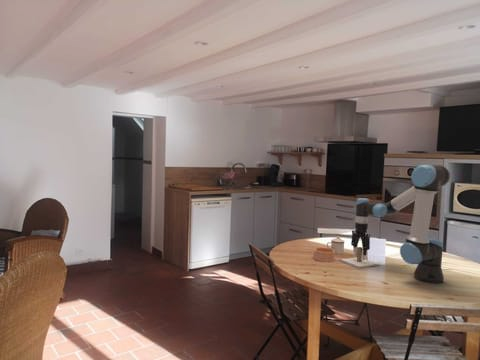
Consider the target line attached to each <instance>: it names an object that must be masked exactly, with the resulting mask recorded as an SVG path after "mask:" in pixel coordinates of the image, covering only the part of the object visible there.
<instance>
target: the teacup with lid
mask: <svg viewBox="0 0 480 360" xmlns="http://www.w3.org/2000/svg"><path fill="white" fill-rule="evenodd" d="M329 244H330V247H329ZM326 248H329V249H333V250H334V251H335V255H343V254H344V250H345V240H343V239H342V238H340V236H336V237H335V238H332V239H331V241H328V242H327V243H326Z"/></svg>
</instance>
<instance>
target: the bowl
mask: <svg viewBox="0 0 480 360" xmlns="http://www.w3.org/2000/svg"><path fill="white" fill-rule="evenodd" d="M329 248H330V247H329ZM329 248H327V247H316V248H314V249H313V259H314V261H316V262H323V263H331V262H335V259H336V257H335V256H336V254H335V251H334V250H333V249H329Z"/></svg>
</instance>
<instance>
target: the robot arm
mask: <svg viewBox="0 0 480 360" xmlns="http://www.w3.org/2000/svg"><path fill="white" fill-rule="evenodd" d="M410 177H411V181H412V183H413V186H411V187H410V188H408V189H407V190H405V191H404V192H401V194H398V195H397V196H395V197H394V198H393V199H391V200H390V201H388V202H383V203H382V202H381V203H380V202H379V203H376V202H375V203H374V202H370V198H364V197H359V198H357V199H356V204H355V205H356V206H355V223H354V226H355V227H354V228H355V229H353V230H351V233H352V234H351V241H350V246H353V247H352V248H353V258H357V250H358V247H359V242H360V240H361V245H362V248H363V249H362V258H361V260H365V259H366V258H367V252H368V251H369V250H370V247H371V246H370V243H371V234H370V233H368V232H367V230H368V229H369V227H368V226H369V225H368V223H369V216H374V217H379V218H382V217H383V218H384V217H385V216H395V215H397V214H399V212H400V210H402V209H404V208H405V207H407V206H409V205H411V204H412V203H414V204H413V205H414V207H413V213H412V218H411V226H410V231H409V235H407V236H406V237H405V243H403V244H402V245H401V246H400V248H399V254H400V256H401V258H402V260H403V261H404V262H405V263H407V264H409V265H416V268H415V270H414V272H413V278H415V280H418V281H421V282H425V283H428V284H429V283H430V284H442V283H444V282H445V277H444V273H443V272H444V271H443V269H442V264H443V263H442V260H443V251H444V247H443V246H444V245H443V244H444V243H443V241H441V240H439V239H435V238H430V237H429V236H428V235H429V230H430V224H431V218H432V217H431V216H432V210H433V207H434V206H433V204H434V200H435V195H436V194H437V193H439V189H442V188H443V187H444V186H446V185H447V184H448V183H449V181H450V180H451V173H450V171H449V169H448V168H447V167H446V166H443V165H442V164H441V165H440V164H421V165H419V166H417V167H415V168H414V169H413V171H412V173H411V176H410ZM366 260H367V259H366Z"/></svg>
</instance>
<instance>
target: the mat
mask: <svg viewBox="0 0 480 360" xmlns="http://www.w3.org/2000/svg"><path fill="white" fill-rule="evenodd" d="M337 262H341V263H343V264H346V265H347V266H351V267H353V268H356V269H358V270H360V269H366V268H367V269H370V268H375V267H381V266H382V265H381V264H378V265H377V266H370V267H362V268H358V267H356V266H353V265H350V264H348V263H345V262H342V261H341V259H340V260H337Z"/></svg>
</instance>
